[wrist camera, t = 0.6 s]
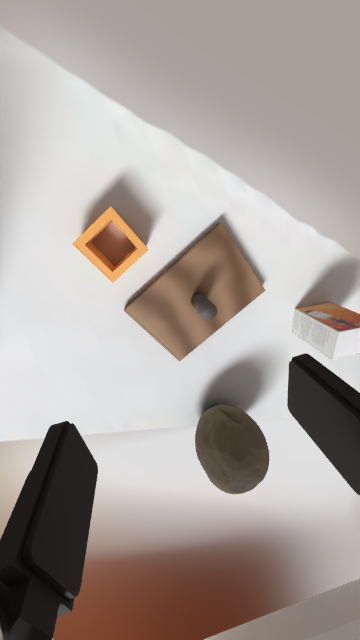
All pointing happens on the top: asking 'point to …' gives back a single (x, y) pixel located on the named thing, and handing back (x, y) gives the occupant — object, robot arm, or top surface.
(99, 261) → the orange square ring
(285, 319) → the top surface
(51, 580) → the robot arm
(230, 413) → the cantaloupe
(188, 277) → the board
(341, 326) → the small box
